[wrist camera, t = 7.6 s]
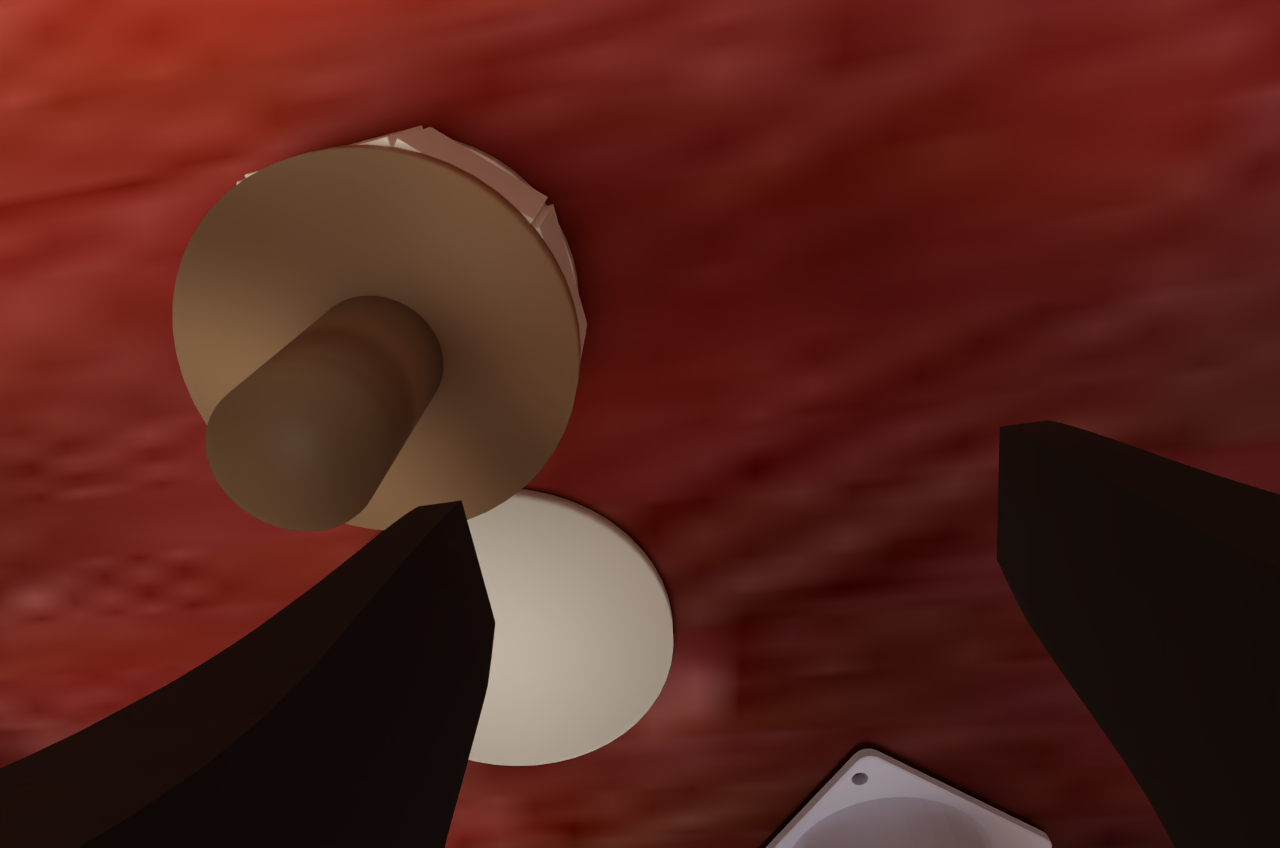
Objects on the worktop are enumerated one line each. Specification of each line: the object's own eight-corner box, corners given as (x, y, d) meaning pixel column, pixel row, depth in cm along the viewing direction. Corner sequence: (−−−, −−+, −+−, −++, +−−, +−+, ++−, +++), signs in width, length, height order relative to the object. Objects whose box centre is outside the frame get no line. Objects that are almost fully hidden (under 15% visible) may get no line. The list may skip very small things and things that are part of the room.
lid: (474, 567, 19) (421, 733, 15) (141, 405, 18) (-41, 533, 13) (653, 283, 17) (658, 374, 12) (277, 57, 15) (109, 59, 10)
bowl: (493, 479, 22) (468, 550, 19) (228, 343, 21) (153, 395, 18) (635, 242, 20) (634, 278, 17) (344, 66, 18) (281, 69, 15)
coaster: (573, 791, 27) (571, 806, 27) (298, 673, 25) (291, 686, 25) (735, 584, 24) (737, 596, 23) (433, 428, 22) (427, 437, 21)
